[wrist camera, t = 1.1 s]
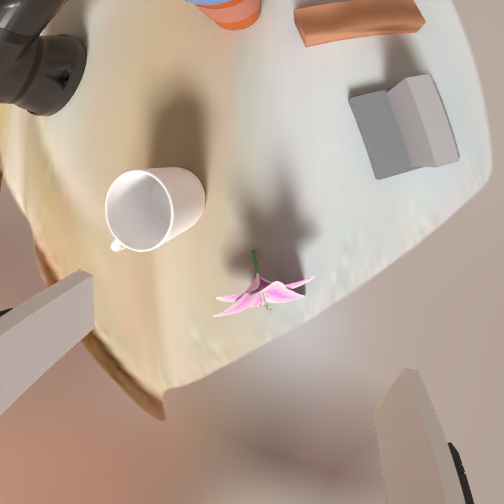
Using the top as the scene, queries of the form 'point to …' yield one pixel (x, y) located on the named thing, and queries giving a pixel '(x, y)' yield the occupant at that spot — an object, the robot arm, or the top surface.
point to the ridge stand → (405, 127)
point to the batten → (356, 20)
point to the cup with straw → (230, 12)
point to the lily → (262, 294)
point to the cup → (152, 206)
